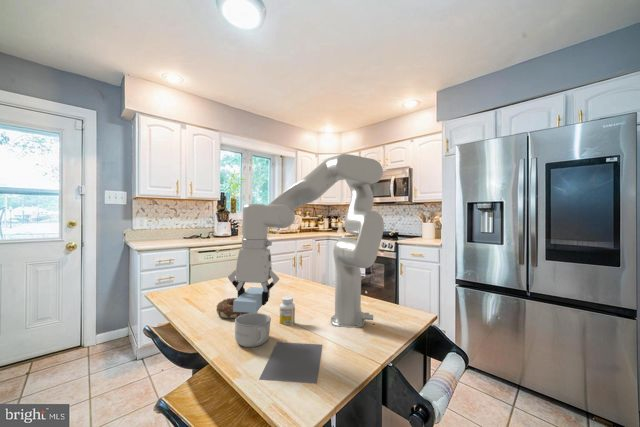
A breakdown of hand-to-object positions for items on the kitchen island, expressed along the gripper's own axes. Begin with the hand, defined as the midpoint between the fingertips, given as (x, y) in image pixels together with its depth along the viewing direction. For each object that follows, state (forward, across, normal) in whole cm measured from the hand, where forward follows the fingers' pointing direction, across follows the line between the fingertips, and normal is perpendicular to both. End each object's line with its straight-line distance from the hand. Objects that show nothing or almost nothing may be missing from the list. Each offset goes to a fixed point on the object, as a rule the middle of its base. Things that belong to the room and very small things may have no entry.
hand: (252, 302), depth 81 cm
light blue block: (0, 0, 0) cm, 0 cm away
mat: (+13, -14, +8) cm, 21 cm away
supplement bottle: (+13, -8, -16) cm, 22 cm away
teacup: (+14, -1, 0) cm, 14 cm away
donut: (+14, +15, -24) cm, 32 cm away
